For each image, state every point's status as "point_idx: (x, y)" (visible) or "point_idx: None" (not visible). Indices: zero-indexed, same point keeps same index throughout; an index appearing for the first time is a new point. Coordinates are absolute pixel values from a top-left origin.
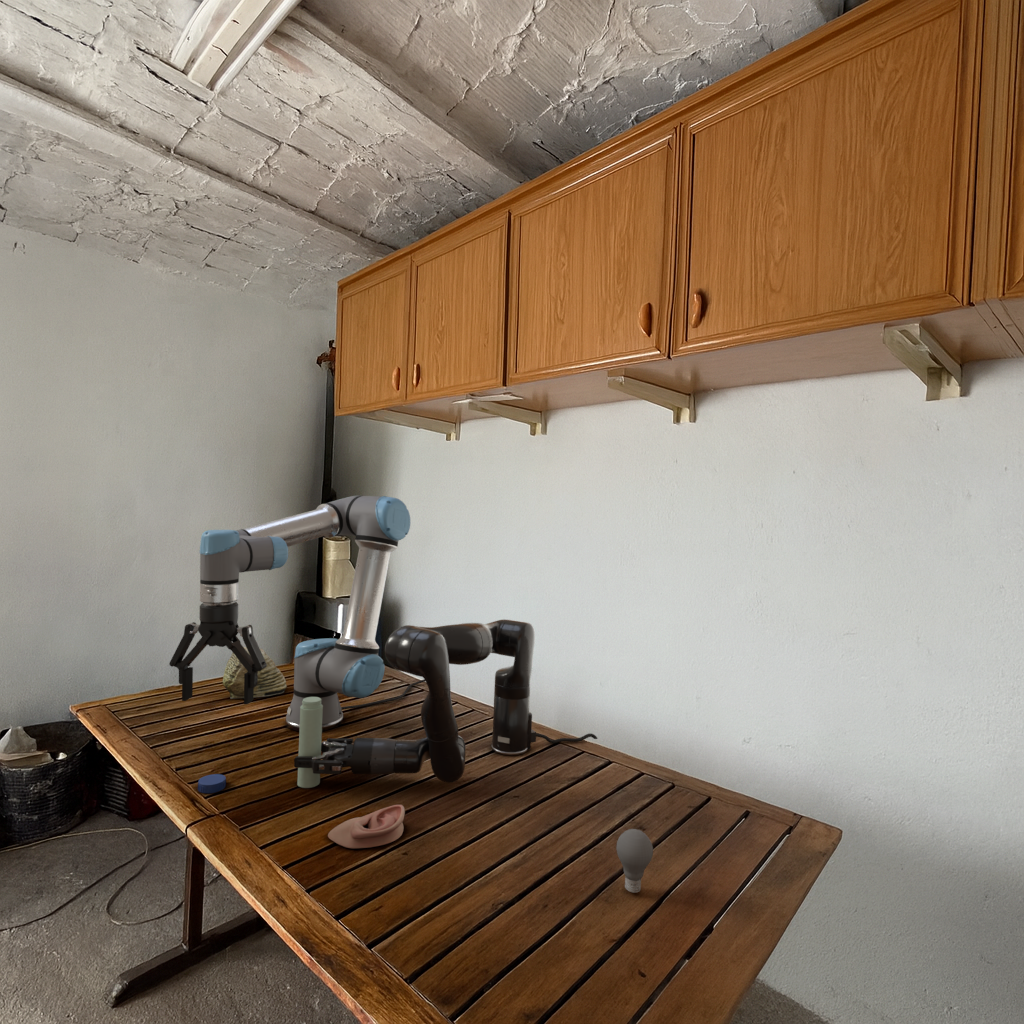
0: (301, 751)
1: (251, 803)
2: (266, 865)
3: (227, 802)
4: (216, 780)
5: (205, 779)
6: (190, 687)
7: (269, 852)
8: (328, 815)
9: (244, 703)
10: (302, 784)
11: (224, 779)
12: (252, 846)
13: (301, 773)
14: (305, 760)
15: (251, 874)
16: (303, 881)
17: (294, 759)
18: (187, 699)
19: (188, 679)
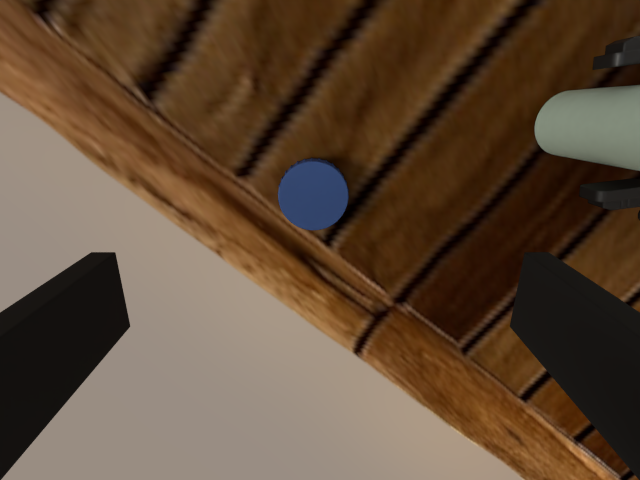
0: (624, 166)
1: (446, 253)
2: (546, 438)
3: (389, 257)
4: (328, 201)
5: (295, 200)
6: (76, 314)
7: (541, 408)
8: (637, 278)
9: (515, 329)
10: (558, 155)
11: (346, 192)
12: (506, 397)
13: (574, 157)
14: (633, 204)
15: (529, 459)
16: (613, 463)
17: (594, 200)
18: (125, 306)
19: (30, 394)
